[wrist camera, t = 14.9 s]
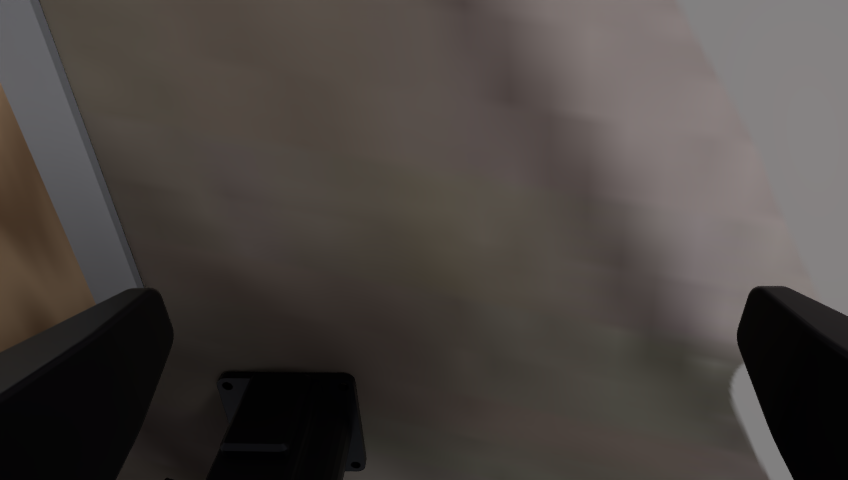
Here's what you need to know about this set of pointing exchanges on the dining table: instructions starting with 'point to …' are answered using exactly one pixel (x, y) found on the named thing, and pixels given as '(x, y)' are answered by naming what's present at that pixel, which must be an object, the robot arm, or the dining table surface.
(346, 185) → the dining table surface
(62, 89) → the mat
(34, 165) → the tan wooden block
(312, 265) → the dining table surface
